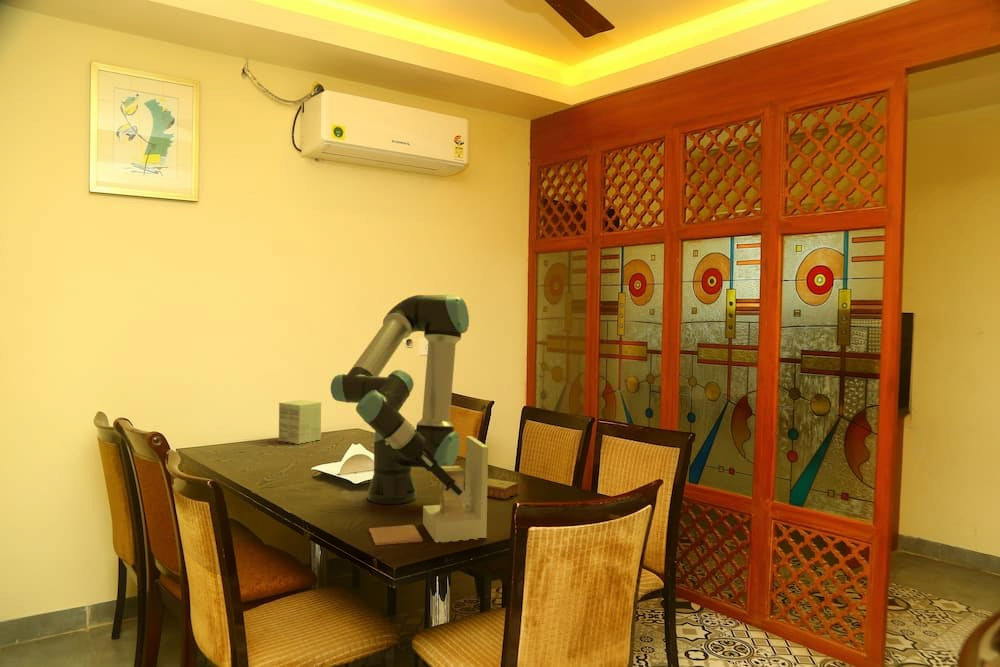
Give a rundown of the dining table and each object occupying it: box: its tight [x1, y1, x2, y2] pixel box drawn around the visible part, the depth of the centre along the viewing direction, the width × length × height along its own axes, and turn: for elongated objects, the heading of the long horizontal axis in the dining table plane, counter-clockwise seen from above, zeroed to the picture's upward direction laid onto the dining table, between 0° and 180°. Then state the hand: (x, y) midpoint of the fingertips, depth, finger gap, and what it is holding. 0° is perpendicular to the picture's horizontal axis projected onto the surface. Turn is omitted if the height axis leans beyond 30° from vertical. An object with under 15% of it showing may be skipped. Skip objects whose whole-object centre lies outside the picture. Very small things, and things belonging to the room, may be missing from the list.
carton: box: [463, 477, 519, 500], centre depth 219 cm, size 8×16×4 cm, turn 58°
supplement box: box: [278, 399, 322, 445], centre depth 299 cm, size 13×13×18 cm
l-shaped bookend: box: [422, 435, 489, 544], centre depth 179 cm, size 16×14×24 cm
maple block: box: [439, 465, 465, 516], centre depth 179 cm, size 6×5×12 cm
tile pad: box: [368, 524, 424, 546], centre depth 175 cm, size 12×12×1 cm
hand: (464, 497), depth 180 cm, fingers closed on maple block, 5 cm apart
